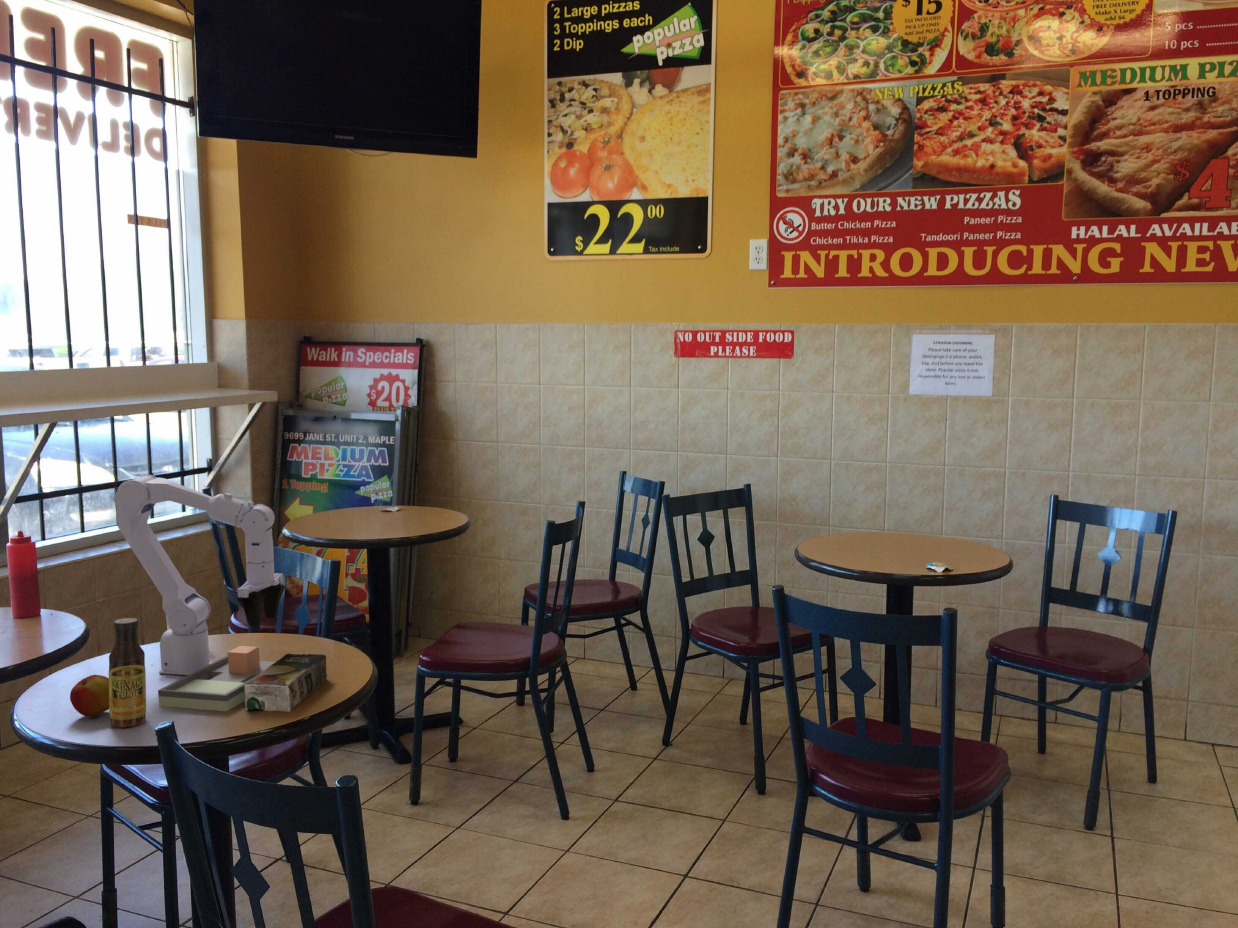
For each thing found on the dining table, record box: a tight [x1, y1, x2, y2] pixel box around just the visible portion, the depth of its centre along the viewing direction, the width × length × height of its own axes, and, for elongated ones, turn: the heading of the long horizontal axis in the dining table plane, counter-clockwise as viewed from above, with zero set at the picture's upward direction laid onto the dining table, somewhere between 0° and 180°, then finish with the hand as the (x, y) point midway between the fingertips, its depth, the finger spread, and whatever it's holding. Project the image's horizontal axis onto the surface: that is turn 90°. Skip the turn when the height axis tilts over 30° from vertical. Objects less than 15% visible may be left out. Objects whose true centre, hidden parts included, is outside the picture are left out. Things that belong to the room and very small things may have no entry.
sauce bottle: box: [108, 617, 147, 729], centre depth 185 cm, size 7×6×20 cm
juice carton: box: [244, 653, 328, 713], centre depth 201 cm, size 20×10×6 cm, turn 175°
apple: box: [69, 674, 109, 718], centre depth 190 cm, size 8×8×8 cm
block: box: [227, 645, 261, 674], centre depth 211 cm, size 4×4×4 cm
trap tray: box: [157, 654, 276, 712], centre depth 205 cm, size 15×24×3 cm, turn 168°
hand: (262, 621), depth 217 cm, fingers open, 6 cm apart
